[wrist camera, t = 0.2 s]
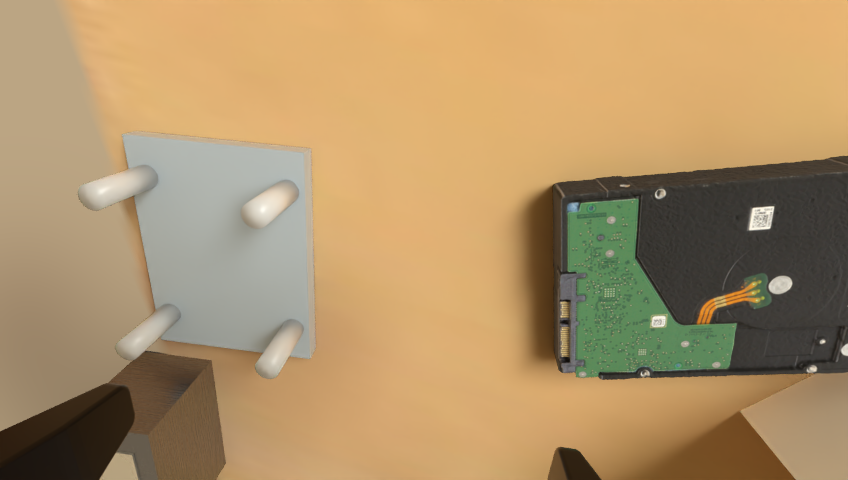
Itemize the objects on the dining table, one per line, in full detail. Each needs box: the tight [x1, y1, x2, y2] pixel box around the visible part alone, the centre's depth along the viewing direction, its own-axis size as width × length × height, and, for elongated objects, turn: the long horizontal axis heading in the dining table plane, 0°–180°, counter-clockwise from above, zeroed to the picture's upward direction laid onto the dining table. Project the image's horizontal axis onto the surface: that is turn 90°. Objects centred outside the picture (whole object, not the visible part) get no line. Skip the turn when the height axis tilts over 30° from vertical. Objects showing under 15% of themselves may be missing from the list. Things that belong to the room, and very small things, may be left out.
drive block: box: [100, 351, 226, 480], centre depth 27 cm, size 9×4×6 cm, turn 175°
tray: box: [78, 131, 316, 379], centre depth 22 cm, size 12×9×4 cm
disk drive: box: [553, 156, 848, 380], centre depth 21 cm, size 10×3×15 cm
